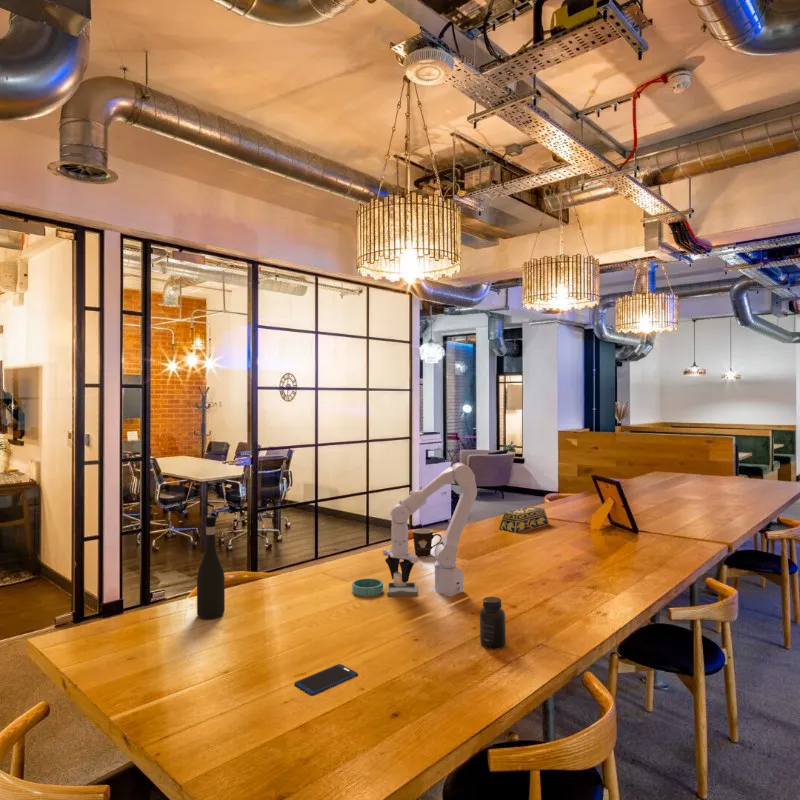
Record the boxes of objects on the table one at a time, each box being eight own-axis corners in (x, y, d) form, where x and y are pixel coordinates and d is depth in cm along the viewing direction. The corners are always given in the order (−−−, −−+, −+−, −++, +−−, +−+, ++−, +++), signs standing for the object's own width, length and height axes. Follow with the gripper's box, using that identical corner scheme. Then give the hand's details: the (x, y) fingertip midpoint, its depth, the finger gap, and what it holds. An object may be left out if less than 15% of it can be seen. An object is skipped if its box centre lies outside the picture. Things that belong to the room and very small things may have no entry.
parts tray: (415, 587, 200) (415, 582, 200) (417, 597, 190) (417, 591, 190) (387, 587, 199) (387, 582, 199) (387, 597, 189) (387, 592, 189)
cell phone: (359, 676, 136) (359, 673, 136) (311, 698, 127) (311, 694, 127) (340, 666, 142) (340, 663, 142) (292, 686, 132) (292, 682, 132)
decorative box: (549, 524, 301) (549, 507, 301) (515, 534, 280) (515, 515, 280) (532, 521, 309) (532, 505, 309) (497, 530, 288) (497, 512, 288)
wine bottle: (196, 612, 177) (196, 515, 177) (223, 609, 179) (223, 513, 179) (197, 621, 169) (197, 520, 169) (225, 618, 172) (225, 518, 172)
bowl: (388, 592, 194) (388, 582, 194) (366, 600, 187) (366, 590, 187) (368, 586, 201) (368, 576, 201) (346, 593, 194) (346, 583, 194)
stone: (409, 584, 195) (409, 573, 195) (400, 588, 191) (400, 576, 191) (399, 582, 198) (399, 570, 198) (390, 585, 194) (390, 573, 194)
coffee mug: (409, 555, 240) (409, 531, 240) (418, 550, 248) (418, 527, 248) (434, 559, 235) (434, 534, 235) (442, 554, 243) (442, 530, 243)
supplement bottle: (488, 636, 158) (488, 593, 158) (510, 643, 154) (510, 598, 154) (474, 644, 153) (474, 600, 153) (497, 652, 148) (497, 605, 148)
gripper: (376, 538, 197) (376, 578, 197) (407, 546, 187) (407, 587, 187) (390, 535, 202) (391, 573, 202) (421, 542, 192) (422, 582, 192)
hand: (400, 580), depth 195 cm, fingers closed on stone, 4 cm apart
